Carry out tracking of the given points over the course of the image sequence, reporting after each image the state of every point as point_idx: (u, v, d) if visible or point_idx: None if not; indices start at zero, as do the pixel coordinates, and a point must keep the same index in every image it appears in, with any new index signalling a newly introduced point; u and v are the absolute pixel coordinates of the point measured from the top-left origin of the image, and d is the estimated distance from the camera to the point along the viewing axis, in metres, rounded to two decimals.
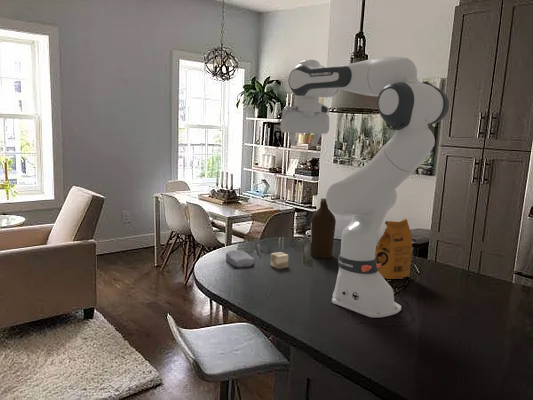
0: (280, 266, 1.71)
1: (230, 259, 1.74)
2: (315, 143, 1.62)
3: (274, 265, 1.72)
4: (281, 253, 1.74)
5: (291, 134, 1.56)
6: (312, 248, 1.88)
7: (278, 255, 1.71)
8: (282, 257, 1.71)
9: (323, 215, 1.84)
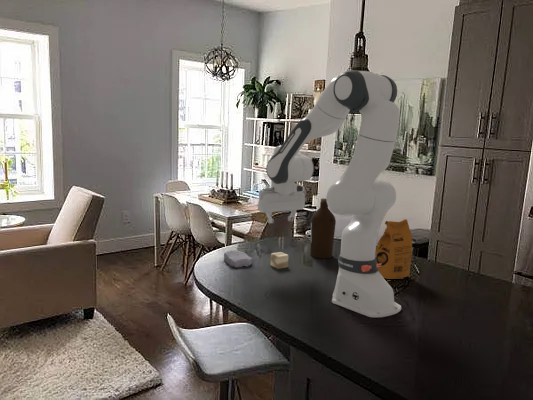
0: (280, 266, 1.71)
1: (228, 259, 1.73)
2: (291, 219, 1.73)
3: (274, 265, 1.72)
4: (281, 253, 1.74)
5: (268, 213, 1.66)
6: (312, 248, 1.88)
7: (278, 255, 1.71)
8: (282, 257, 1.71)
9: (323, 215, 1.84)
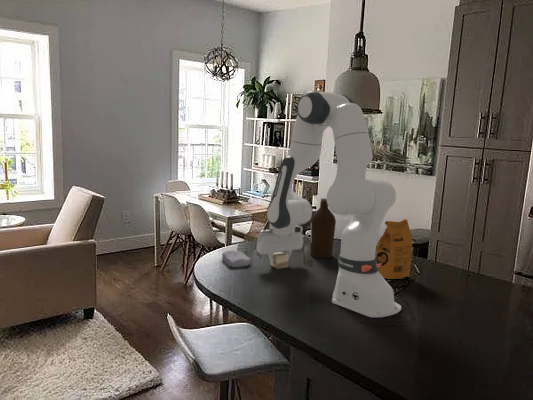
0: (280, 266, 1.71)
1: (226, 259, 1.73)
2: None
3: (274, 265, 1.72)
4: (281, 253, 1.74)
5: (270, 254, 1.70)
6: (312, 248, 1.88)
7: (278, 255, 1.71)
8: (282, 257, 1.71)
9: (323, 215, 1.84)
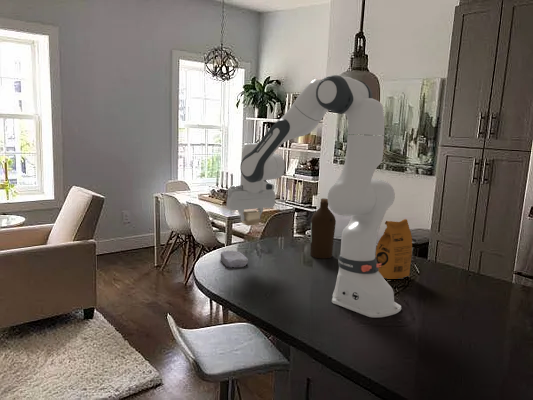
0: (250, 223, 1.69)
1: (224, 259, 1.73)
2: None
3: (245, 222, 1.70)
4: (252, 210, 1.72)
5: (240, 211, 1.68)
6: (312, 248, 1.88)
7: (249, 212, 1.69)
8: (253, 214, 1.69)
9: (323, 215, 1.84)
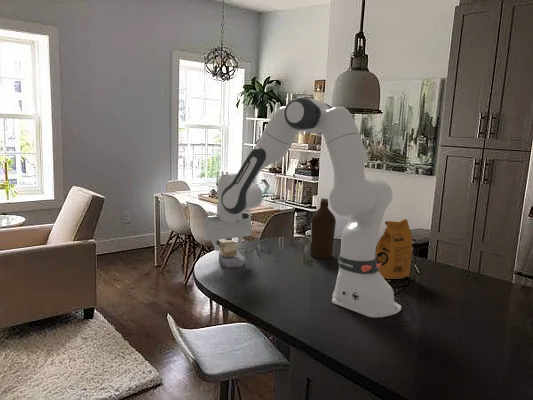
0: (228, 254, 1.71)
1: (221, 259, 1.73)
2: (238, 245, 1.75)
3: (222, 253, 1.72)
4: (230, 241, 1.74)
5: (213, 241, 1.69)
6: (312, 248, 1.88)
7: (227, 243, 1.71)
8: (230, 246, 1.71)
9: (323, 215, 1.84)
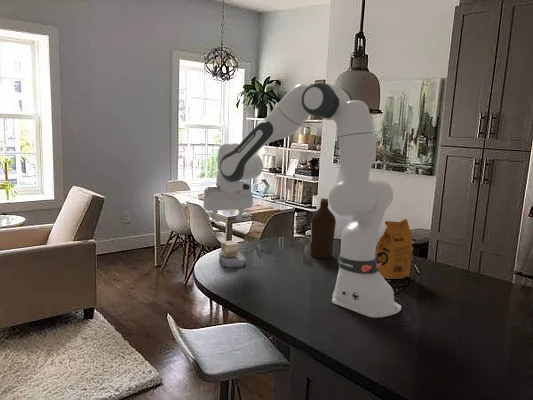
0: (229, 254, 1.71)
1: (221, 259, 1.73)
2: (239, 217, 1.73)
3: (224, 253, 1.72)
4: (231, 242, 1.74)
5: (214, 212, 1.67)
6: (312, 248, 1.88)
7: (227, 243, 1.72)
8: (231, 246, 1.71)
9: (323, 215, 1.84)
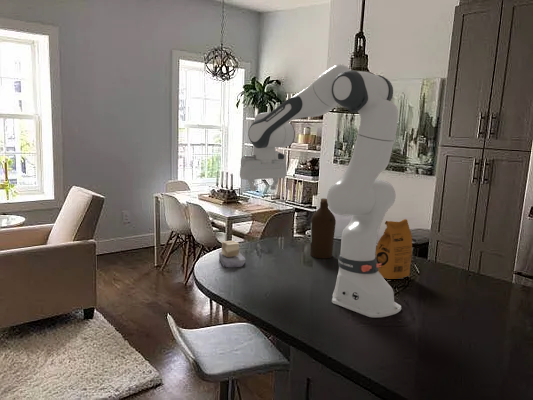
0: (230, 254, 1.72)
1: (221, 259, 1.74)
2: (274, 187, 1.74)
3: (224, 253, 1.73)
4: (232, 241, 1.75)
5: (250, 180, 1.68)
6: (312, 248, 1.88)
7: (228, 243, 1.72)
8: (232, 245, 1.71)
9: (323, 215, 1.84)
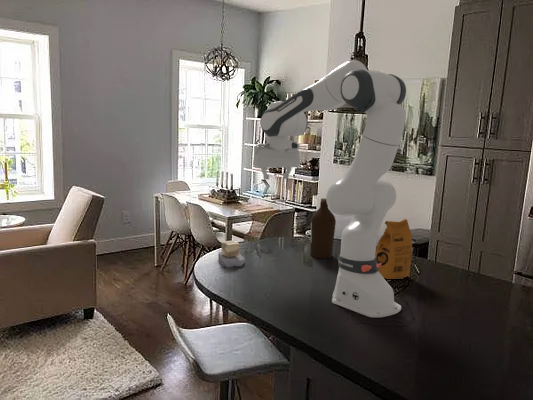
0: (230, 254, 1.72)
1: (221, 259, 1.74)
2: (286, 176, 1.75)
3: (225, 253, 1.73)
4: (232, 241, 1.75)
5: (263, 169, 1.69)
6: (312, 248, 1.88)
7: (228, 243, 1.72)
8: (232, 246, 1.72)
9: (323, 215, 1.84)
